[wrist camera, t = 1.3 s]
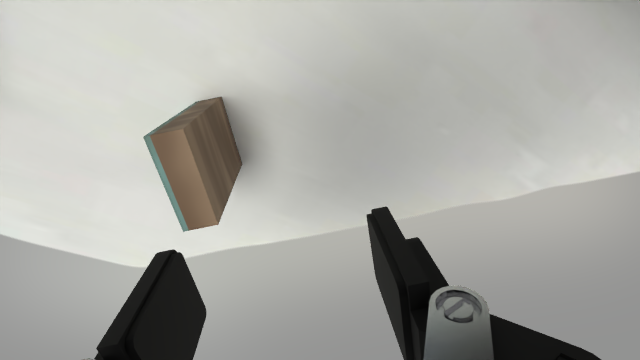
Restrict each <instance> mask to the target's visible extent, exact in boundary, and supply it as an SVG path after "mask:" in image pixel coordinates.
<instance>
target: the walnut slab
mask: <svg viewBox="0 0 640 360" xmlns="http://www.w3.org/2000/svg"><path fill="white" fill-rule="evenodd" d="M143 138H144V140H145V142H146V145H147V147H148V149H149V152H150V154H151V156H152V159H153V161H154V164H155V166H156V168H157V171H158V173H159V175H160V178H161V180H162V182H163V185H164V187H165V190H166V192H167V194H168V197H169V199H170V201H171V204H172V206H173V208H174V211H175V213H176V216H177V218H178V220H179V223H180V225H181V227H182V230H183V232H184V231H189V230H194V229H199V228H204V227H208V226H213V225H218V224H219V221H220V219H221V216H222V214H223V211H224V209H225V206H226V203H227V201H228V198H229V196H230V193H231V191H232V188H233V186H234V183H235V181H236V178H237V176H238V173H239V171H240V168H241V166H242V163H241V159H240V156H239V153H238V149H237V146H236V143H235V140H234V136H233V133H232V130H231V126H230V123H229V120H228V117H227V113H226V110H225V107H224V104H223V100H222V97H218V98H213V99H208V100H203V101H198V102H195V103H194V104H192V105H191V106H189V107H187V108H186V109H184V110H183V111H181V112H180V113H178V114H177V115H175V116H174V117H172V118H171V119H169V120H168V121H166V122H165V123H163V124H162V125H160V126H159V127H157V128H156V129H154V130H153V131H151V132H150V133H148V134H147V135H145V136H144V137H143Z"/></svg>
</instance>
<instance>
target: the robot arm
mask: <svg viewBox="0 0 640 360" xmlns="http://www.w3.org/2000/svg"><path fill="white" fill-rule="evenodd" d="M367 222H368V228H369V235H370V241H371V249H372V256H373V263H374V270H375V275H376V280H377V283H378V285H379V289H380V292H381V294H382V298H383V300H384V303H385V306H386V309H387V312H388V315H389V318H390V320H391V324H392V326H393V329H394V332H395V335H396V338H397V341H398V344H399V347H400V349H401V352H402V355H403V358H404V360H601V359H600V358H598V357H597V356H595V355H594V354H592V353H590V352H588V351H586V350H584V349H582V348H579V347H576V346H574V345H571V344H569V343H566V342H563V341H561V340H558V339H555V338H553V337H550V336H547V335H545V334H542V333H539V332H536V331H534V330H531V329H529V328H526V327H523V326H521V325H518V324H515V323H512V322H510V321H507V320H505V319H502V318H499V317H497V316H494V315H491V314H489V308H488V305H487V302H486V301H485V300H484V298H483V297H482V296H481V295H479V294H478V293H477V292H475V291H473V290H471V289H469V288H466V287H461V286H449V285H448V283H447V281H446V280H445V278H444V277H443V275H442V274H441V272H440V270H439V269H438V267H437V266H436V264H435V263H434V261H433V259H432V258H431V256H430V255H429V253H428V251H427V250H426V248H425V247H424V245H423V244H422V242H421V241H420V239H419V238H417V237H416V238H411V239H405V238H404V236H403V234H402V233H401V231H400V229H399V227H398V225H397V223H396V222H395V220H394V218H393V216H392V214H391V213H390V211H389V209H388V207H381V208H377V209H372V214H367ZM205 318H206V308H205V305H204V303H203V301H202V298H201V296H200V294H199V292H198V289H197V287H196V285H195V282H194V280H193V278H192V275H191V273H190V271H189V269H188V267H187V264H186V262H185V259H184V257H183V255H182V254H181V253H180V252H178V253H177V251H175V250H168V251H163V252H159V253H157V254H156V255H155V256H154V258H153V259H152V261H151V262H150V264H149V266H148V267H147V269H146V270H145V272H144V274H143V275H142V277H141V278H140V280H139V281H138V283H137V285H136V286H135V288H134V289H133V291H132V293H131V294H130V296H129V297H128V299H127V301H126V302H125V304H124V305H123V307H122V308H121V310H120V312H119V313H118V315H117V316H116V318H115V319H114V321H113V323H112V324H111V326H110V327H109V329H108V331H107V332H106V334H105V335H104V337H103V339H102V340H101V342H100V343H99V345H98V347H97V350H98V354H97V355H96V357H95V358H94V359H89V358H88V359H83V360H193V357H194V354H195V351H196V348H197V344H198V341H199V338H200V335H201V331H202V328H203V325H204V322H205Z"/></svg>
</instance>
